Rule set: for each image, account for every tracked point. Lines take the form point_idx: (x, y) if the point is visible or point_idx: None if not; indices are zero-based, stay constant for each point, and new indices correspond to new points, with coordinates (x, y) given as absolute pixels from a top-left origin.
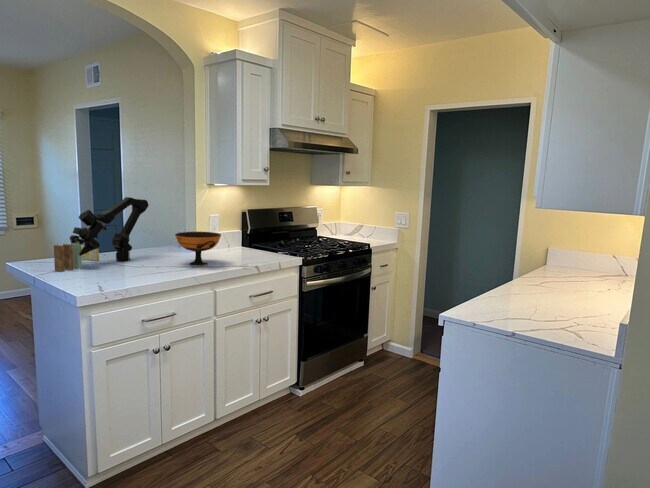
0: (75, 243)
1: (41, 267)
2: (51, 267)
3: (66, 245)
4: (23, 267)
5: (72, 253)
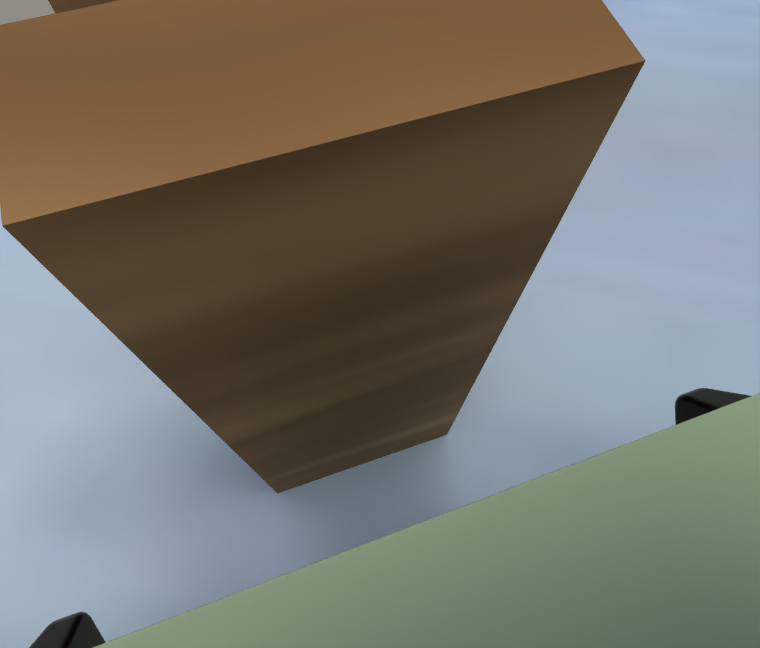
0: (713, 623)
1: (665, 152)
2: (621, 250)
3: (214, 10)
4: (727, 14)
5: (190, 398)
